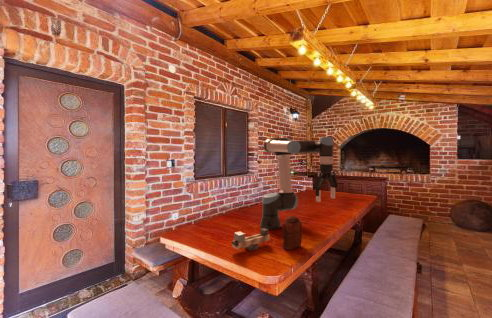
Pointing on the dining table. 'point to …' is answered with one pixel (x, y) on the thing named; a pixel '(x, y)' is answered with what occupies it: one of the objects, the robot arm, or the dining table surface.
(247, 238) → the beam
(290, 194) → the robot arm
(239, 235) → the block
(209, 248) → the dining table surface
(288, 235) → the wooden figurine
